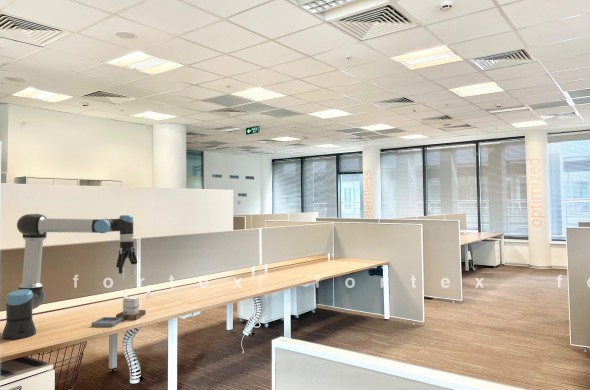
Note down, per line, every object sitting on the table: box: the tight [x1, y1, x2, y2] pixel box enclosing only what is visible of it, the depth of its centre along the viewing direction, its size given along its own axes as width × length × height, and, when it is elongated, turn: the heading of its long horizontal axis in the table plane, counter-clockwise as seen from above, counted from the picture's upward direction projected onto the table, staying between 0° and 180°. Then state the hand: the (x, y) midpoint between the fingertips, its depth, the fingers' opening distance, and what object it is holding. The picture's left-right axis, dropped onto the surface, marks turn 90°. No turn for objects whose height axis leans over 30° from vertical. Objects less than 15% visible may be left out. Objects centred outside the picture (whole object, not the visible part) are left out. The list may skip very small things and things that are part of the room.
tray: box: [91, 316, 125, 328], centre depth 246 cm, size 13×13×2 cm
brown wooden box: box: [115, 309, 146, 321], centre depth 260 cm, size 13×13×3 cm
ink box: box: [122, 296, 140, 315], centre depth 260 cm, size 9×5×12 cm, turn 74°
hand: (127, 276), depth 250 cm, fingers open, 13 cm apart
